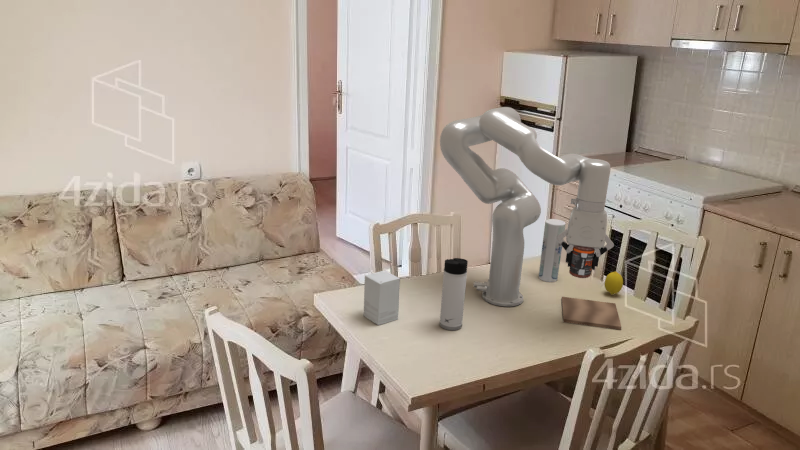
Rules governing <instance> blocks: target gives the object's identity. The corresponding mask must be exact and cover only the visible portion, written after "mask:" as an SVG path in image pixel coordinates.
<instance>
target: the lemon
mask: <svg viewBox="0 0 800 450" xmlns="http://www.w3.org/2000/svg"><path fill="white" fill-rule="evenodd" d="M623 285H624V279H623V276H622V274H620V273H619V272H617V271H611V272H610V273H608V274H607V275H606V277H605V280H604V288H605V290H606V291H607V292H608V293H609V294H610V295H611V296H613V295H615V294H618V293H620V292H621V290H622V289H623Z"/></svg>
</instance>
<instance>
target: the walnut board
mask: <svg viewBox="0 0 800 450" xmlns="http://www.w3.org/2000/svg"><path fill="white" fill-rule="evenodd" d="M561 310H562V312H561V313H562V322H563V323H567V324H573V325H574V324H575V325H582V326H589V327H596V328H604V329H611V330H612V329H613V330H618V331H621V330H622V323H621V319H620V316H619V312H618V308H617V304H616V303H614V302H608V301H599V300H592V299H591V300H590V299H584V298H577V297H568V296H561Z"/></svg>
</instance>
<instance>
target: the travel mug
mask: <svg viewBox="0 0 800 450" xmlns="http://www.w3.org/2000/svg"><path fill="white" fill-rule="evenodd" d="M468 263H469V261H468V259H465V258H460V257H454V258H447V259H445V260H444V265H443V266H444V268H443V275H442V276H443V278H442V287H441V288H442V290H441V300H440V301H441V302H440V314H439V315H440V316H439V317H440V318H439V326H440V328H442V329H444V330H446V331H457V330H460V329H462V327H463V319H464V308H465V296H466V285H467V276H468V275H467V273H468Z"/></svg>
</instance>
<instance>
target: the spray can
mask: <svg viewBox="0 0 800 450" xmlns="http://www.w3.org/2000/svg"><path fill="white" fill-rule="evenodd" d="M566 225H567V223H566V222H565V221H564V220H561V219H556V218H549V219H546V220H545V222H544V231H543V238H542V245H541V253H540V254H541V255H540V263H539V271H538V279H539V280H541V281H543V282H546V283H554V282H557V281H558V278H559V271H560V264H561V259H562V253H563V252H562V251H563V247H562V245H561V244H560V243H559V242H558V241H557V239H556V237H557V236H558V235H559V234H561V233H562V232H563V231H565V230H566Z"/></svg>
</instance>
